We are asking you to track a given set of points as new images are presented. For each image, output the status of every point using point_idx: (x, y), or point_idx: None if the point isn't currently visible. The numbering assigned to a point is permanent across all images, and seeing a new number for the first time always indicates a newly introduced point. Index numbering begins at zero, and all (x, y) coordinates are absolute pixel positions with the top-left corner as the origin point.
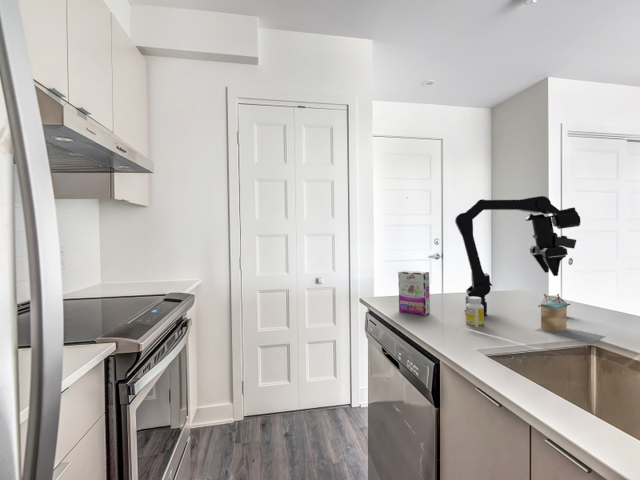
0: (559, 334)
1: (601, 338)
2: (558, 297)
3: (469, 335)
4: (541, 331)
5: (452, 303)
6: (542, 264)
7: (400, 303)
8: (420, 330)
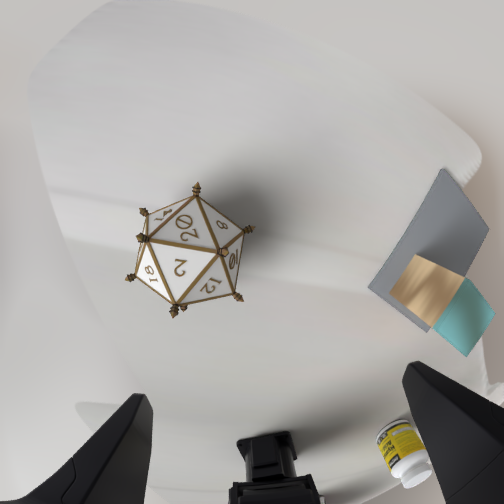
0: None
1: (461, 190)
2: (225, 254)
3: None
4: None
5: (165, 477)
6: (135, 488)
7: None
8: None
